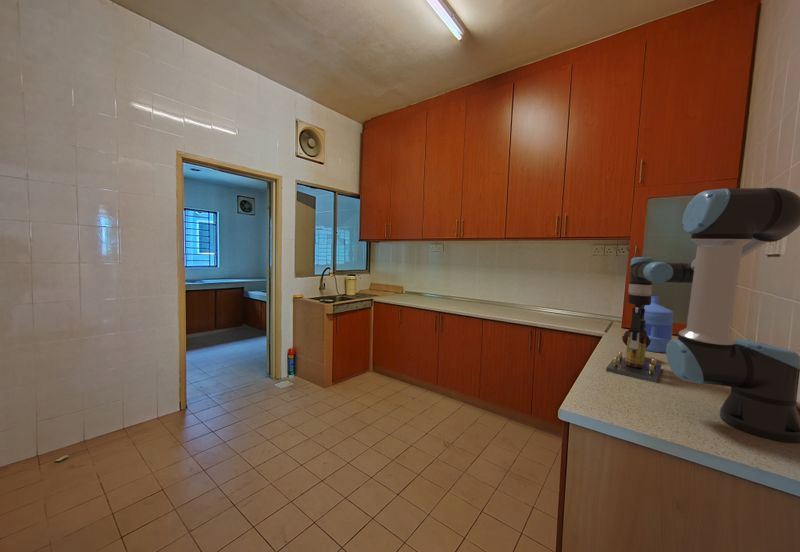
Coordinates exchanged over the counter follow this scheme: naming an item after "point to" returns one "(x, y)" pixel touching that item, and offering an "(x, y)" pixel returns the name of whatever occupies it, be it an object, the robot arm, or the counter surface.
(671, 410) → the counter surface
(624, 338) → the ice cream bowl
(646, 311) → the water jug
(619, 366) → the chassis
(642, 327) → the sauce bottle
